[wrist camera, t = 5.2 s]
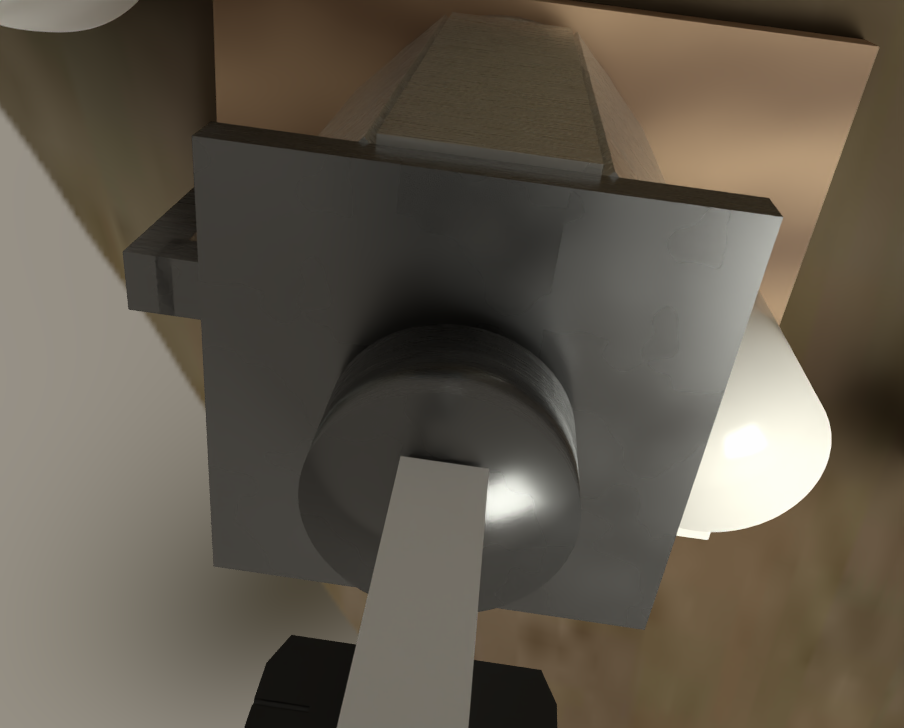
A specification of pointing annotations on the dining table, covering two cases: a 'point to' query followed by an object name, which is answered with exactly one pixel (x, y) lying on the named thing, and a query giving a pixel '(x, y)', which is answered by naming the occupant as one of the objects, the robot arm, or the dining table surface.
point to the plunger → (447, 452)
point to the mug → (759, 437)
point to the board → (629, 67)
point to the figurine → (61, 14)
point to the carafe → (463, 287)
